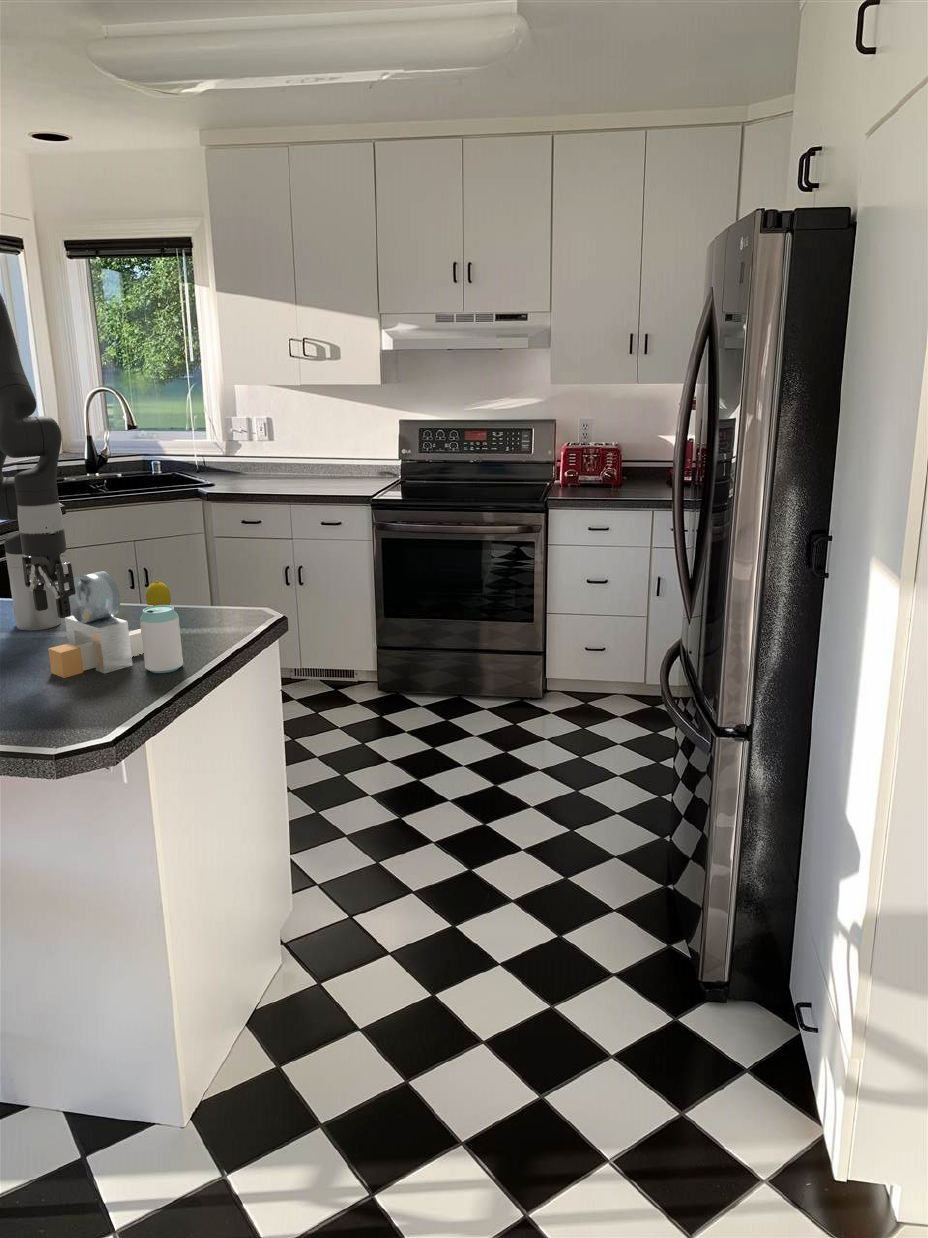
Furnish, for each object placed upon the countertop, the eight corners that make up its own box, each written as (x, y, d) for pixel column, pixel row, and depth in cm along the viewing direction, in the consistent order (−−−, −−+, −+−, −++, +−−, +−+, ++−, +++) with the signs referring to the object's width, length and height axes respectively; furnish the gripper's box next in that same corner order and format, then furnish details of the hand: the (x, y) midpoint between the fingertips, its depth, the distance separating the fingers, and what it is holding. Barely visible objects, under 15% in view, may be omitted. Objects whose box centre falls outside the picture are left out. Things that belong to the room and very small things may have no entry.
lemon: (165, 617, 222) (161, 584, 219) (143, 616, 223) (139, 583, 220) (176, 611, 227) (173, 578, 225) (155, 610, 228) (151, 577, 226)
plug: (51, 673, 185) (48, 648, 184) (141, 648, 200) (138, 625, 198) (63, 678, 183) (60, 652, 181) (153, 652, 197) (151, 628, 196)
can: (169, 675, 183) (162, 614, 179) (137, 672, 185) (131, 612, 182) (190, 664, 189) (184, 605, 186) (160, 661, 191) (153, 602, 188)
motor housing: (70, 661, 192) (58, 572, 187) (98, 653, 197) (87, 567, 192) (104, 673, 185) (93, 582, 180) (132, 665, 189) (122, 575, 184)
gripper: (3, 527, 178) (15, 612, 183) (41, 535, 170) (53, 624, 174) (42, 521, 184) (53, 604, 188) (81, 529, 175) (91, 615, 179)
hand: (53, 613), depth 181 cm, fingers open, 8 cm apart
